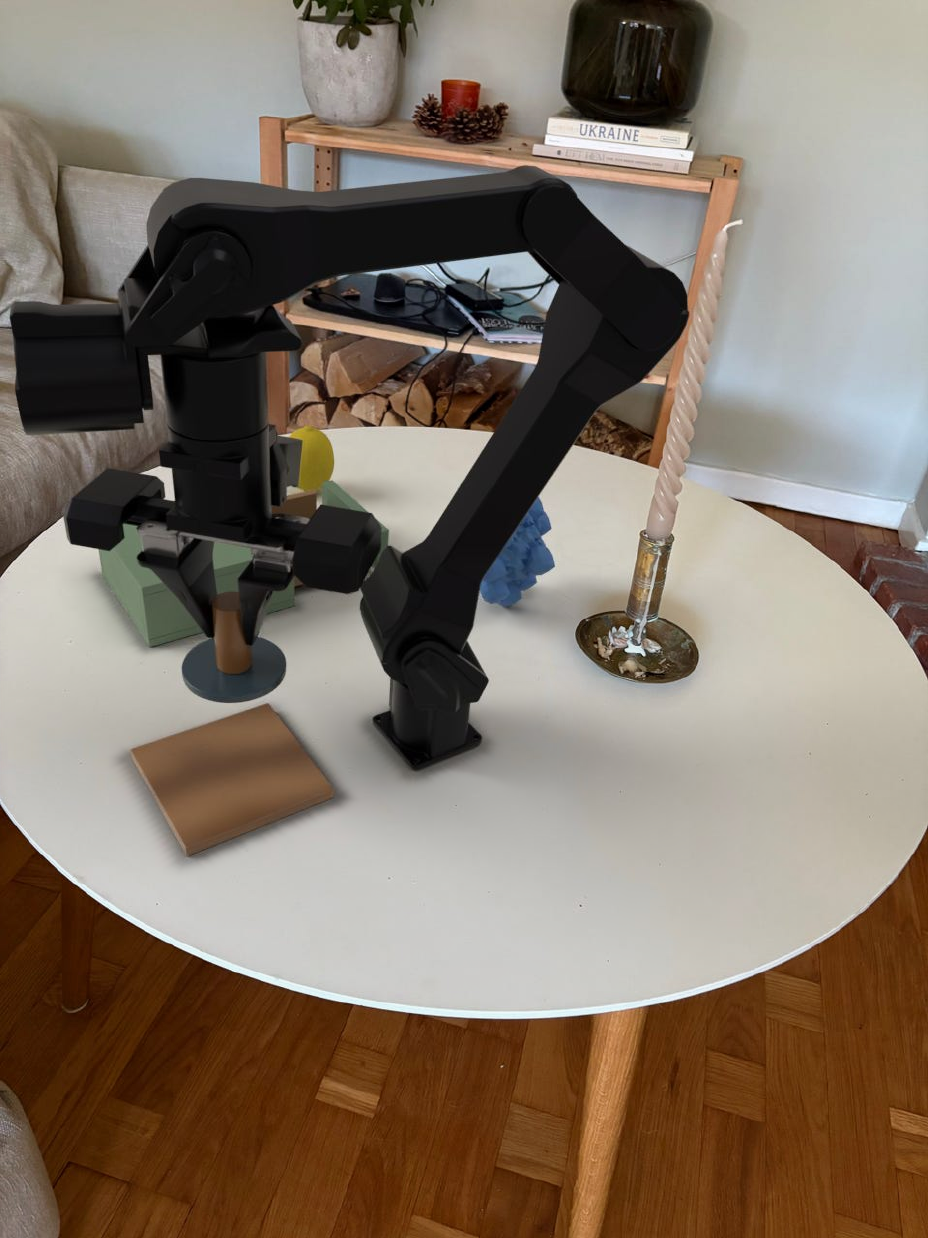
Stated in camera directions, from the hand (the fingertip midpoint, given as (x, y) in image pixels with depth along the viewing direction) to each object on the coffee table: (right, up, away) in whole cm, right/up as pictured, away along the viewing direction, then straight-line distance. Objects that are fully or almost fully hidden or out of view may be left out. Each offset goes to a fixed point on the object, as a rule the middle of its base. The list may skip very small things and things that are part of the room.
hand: (232, 638), depth 64 cm
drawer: (0, +8, +30) cm, 31 cm away
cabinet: (-9, +4, +25) cm, 27 cm away
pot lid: (0, -2, +2) cm, 3 cm away
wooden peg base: (-1, -10, +5) cm, 12 cm away
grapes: (+20, +2, +27) cm, 34 cm away
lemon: (-2, +15, +42) cm, 45 cm away
